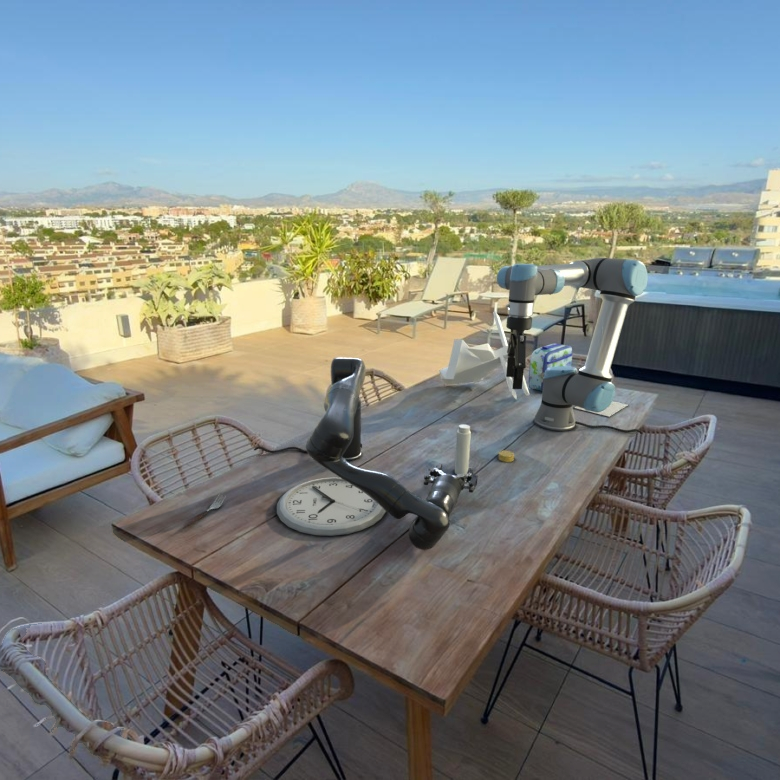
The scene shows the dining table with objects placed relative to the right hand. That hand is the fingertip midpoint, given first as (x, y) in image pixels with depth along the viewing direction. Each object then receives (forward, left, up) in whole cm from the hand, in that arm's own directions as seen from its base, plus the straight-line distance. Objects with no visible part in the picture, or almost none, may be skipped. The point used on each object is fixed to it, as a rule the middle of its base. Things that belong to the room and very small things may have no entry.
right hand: (513, 382), depth 166 cm
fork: (+82, +48, -26) cm, 99 cm away
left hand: (+17, +24, -20) cm, 36 cm away
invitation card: (-46, -61, -26) cm, 80 cm away
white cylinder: (+15, +13, -26) cm, 33 cm away
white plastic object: (+6, -73, -26) cm, 77 cm away
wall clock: (+50, +38, -26) cm, 69 cm away
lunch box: (-28, -86, -26) cm, 94 cm away
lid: (0, 0, -25) cm, 25 cm away
